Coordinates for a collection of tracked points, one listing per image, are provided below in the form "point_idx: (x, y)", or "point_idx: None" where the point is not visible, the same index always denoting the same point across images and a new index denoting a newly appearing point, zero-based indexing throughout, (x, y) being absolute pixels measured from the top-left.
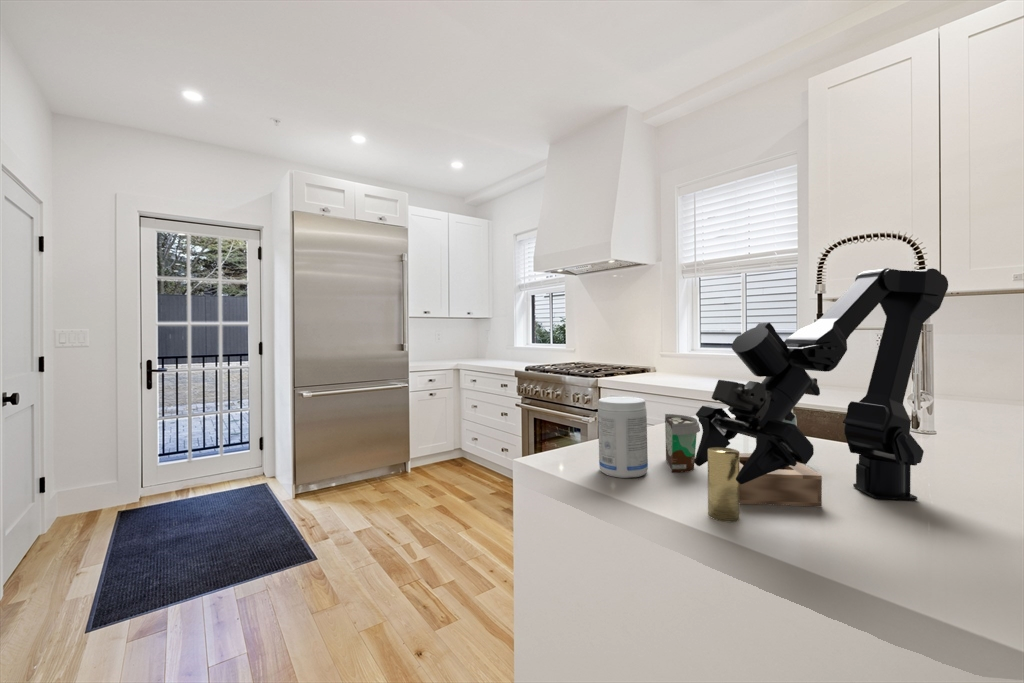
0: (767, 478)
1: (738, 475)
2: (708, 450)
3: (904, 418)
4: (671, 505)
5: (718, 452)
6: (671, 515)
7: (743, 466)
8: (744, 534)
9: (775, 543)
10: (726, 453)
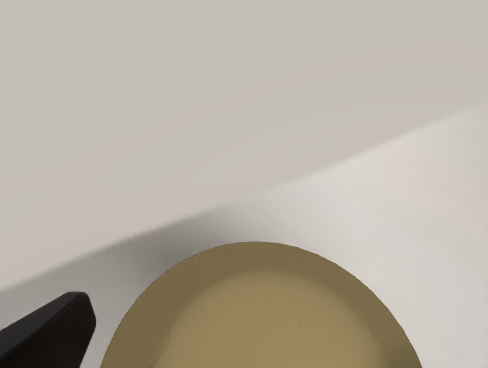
0: None
1: (61, 305)
2: (314, 255)
3: None
4: (454, 226)
5: (207, 294)
6: (354, 170)
7: (4, 346)
8: None
9: None
10: (147, 347)
